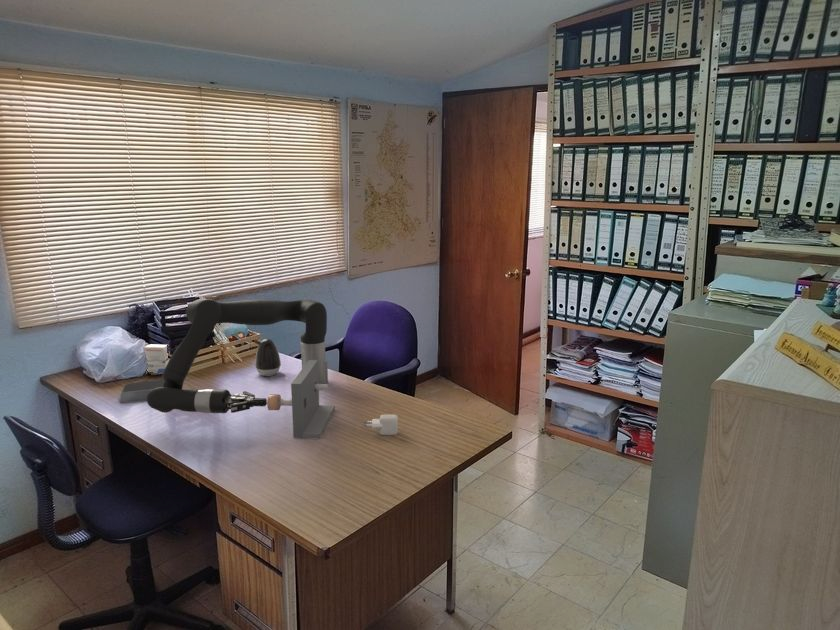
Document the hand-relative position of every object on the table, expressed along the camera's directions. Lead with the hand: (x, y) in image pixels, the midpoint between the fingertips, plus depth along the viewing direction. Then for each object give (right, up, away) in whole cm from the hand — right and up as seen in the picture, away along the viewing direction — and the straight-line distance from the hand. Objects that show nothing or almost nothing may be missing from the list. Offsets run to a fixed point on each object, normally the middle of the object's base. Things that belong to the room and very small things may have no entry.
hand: (266, 402), depth 191 cm
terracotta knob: (+6, -2, 0) cm, 7 cm away
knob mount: (+14, -8, +9) cm, 19 cm away
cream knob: (+12, +1, +15) cm, 19 cm away
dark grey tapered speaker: (-14, +3, +57) cm, 59 cm away
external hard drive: (-52, -3, +34) cm, 62 cm away
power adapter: (+36, -10, +1) cm, 38 cm away
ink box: (-59, +4, +58) cm, 83 cm away
